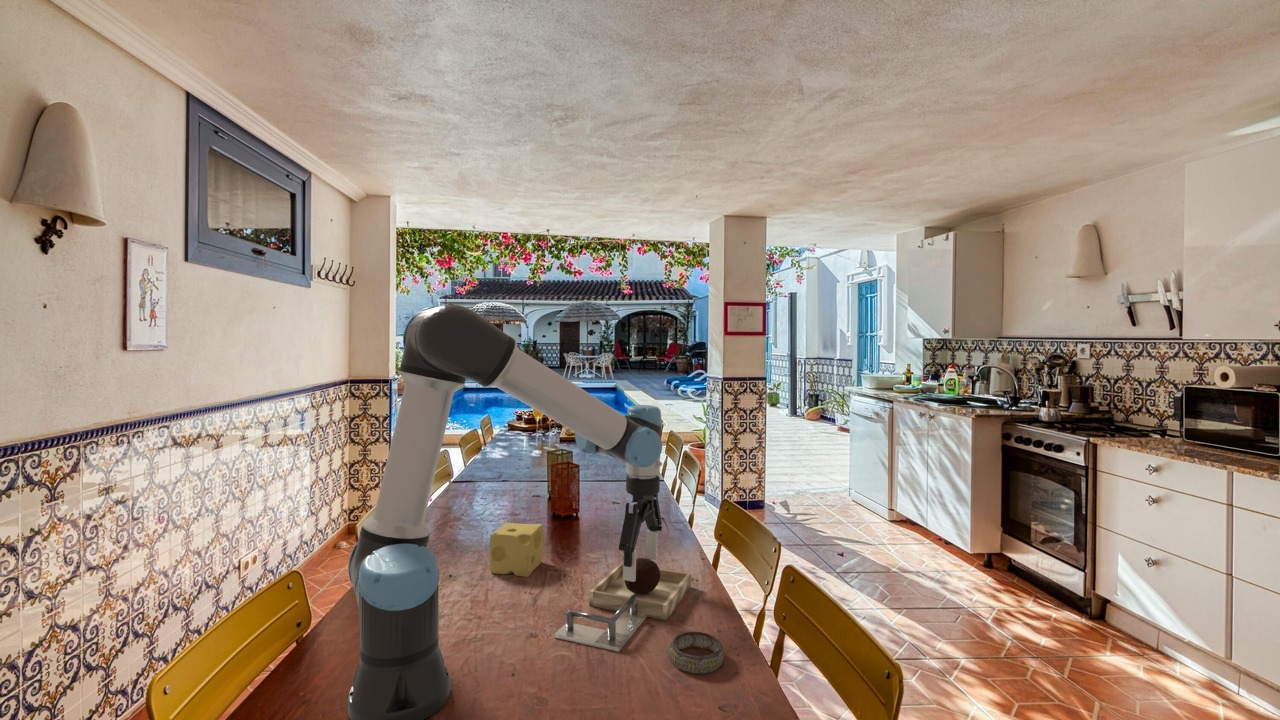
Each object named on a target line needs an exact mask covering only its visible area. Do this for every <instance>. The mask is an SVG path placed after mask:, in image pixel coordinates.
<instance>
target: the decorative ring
mask: <svg viewBox="0 0 1280 720" xmlns="http://www.w3.org/2000/svg"><path fill="white" fill-rule="evenodd" d="M686 649H687V650H688V649H702V650H707V651H709V652H711V653H710V654H706V655H705V654H704V655H694V654H692V655H691V654H688V653H685V652H682V651H683V650H686ZM668 655H669V658H670V661H671V663H672V664H673V666H675V667H676V669H679V670H680V671H681V672H682V671H683V672H685V673H688V674H693V675H704V674H705V675H706V674H711V673H713V672H716V671H717V670H718V669H720V668H721V666H722V664H723V662H724V659H725V655H726V653H725V649H724V647H723V645H722V642H721V640H719V639H718V638H717V637H716V636H714V635H711V634H709V633H706V632H702V631H688V632H683V633H680V634H677V635H676V636H675V637H674V638H672V640H671V642H670V645H669V647H668Z"/></svg>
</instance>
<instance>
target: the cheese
mask: <svg viewBox="0 0 1280 720" xmlns="http://www.w3.org/2000/svg"><path fill="white" fill-rule="evenodd" d="M489 535H490V536H489V567H490V568H489V569H490V573H491V574H495V575H496V574H497V575H508V574H513V575H514V576H518V577H524V578H529V577H530V575H532V572H533V571H535V570H536V568H537V567H539V565H541V563H542V561H543V555H544V554H543V553H544V540H545V538H544V536H545V534H544V526H543V523H516V522H514V523H513V522H505V523H504V524H503V525H502V526H500V527H499V528H498V529H496V530H495V531H493V532H492V533H491V534H489Z"/></svg>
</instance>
